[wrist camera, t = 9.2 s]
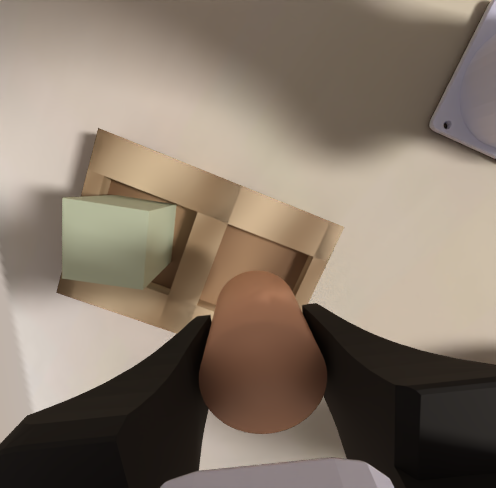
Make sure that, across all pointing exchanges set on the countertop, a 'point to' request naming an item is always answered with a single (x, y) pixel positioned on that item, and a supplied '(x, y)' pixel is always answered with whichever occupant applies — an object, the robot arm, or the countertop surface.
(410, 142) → the countertop surface
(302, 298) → the pocket board
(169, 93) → the countertop surface
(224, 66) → the countertop surface
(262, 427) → the terracotta dowel
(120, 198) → the sage cube
